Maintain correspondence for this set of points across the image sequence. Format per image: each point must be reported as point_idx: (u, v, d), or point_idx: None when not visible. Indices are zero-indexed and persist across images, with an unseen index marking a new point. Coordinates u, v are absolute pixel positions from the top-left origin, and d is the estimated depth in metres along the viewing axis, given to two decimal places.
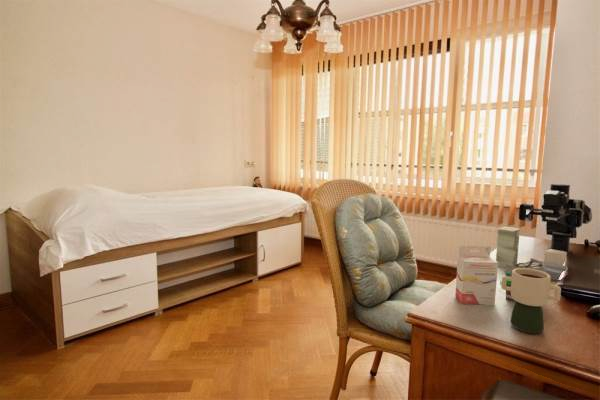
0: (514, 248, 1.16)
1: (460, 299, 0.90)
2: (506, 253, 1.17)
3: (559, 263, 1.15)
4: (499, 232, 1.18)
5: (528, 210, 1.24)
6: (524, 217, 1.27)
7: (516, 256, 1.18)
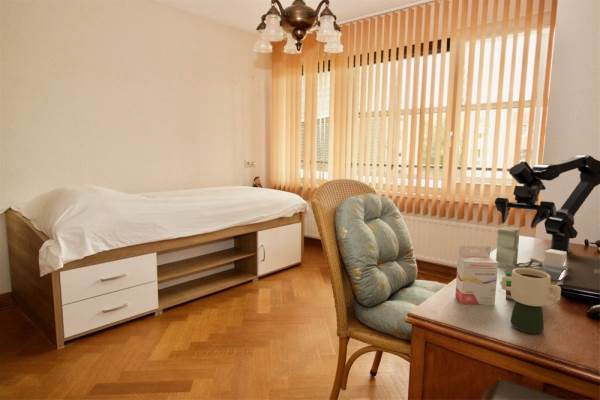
0: (514, 248, 1.16)
1: (460, 299, 0.90)
2: (506, 253, 1.17)
3: (559, 263, 1.15)
4: (499, 232, 1.18)
5: (503, 210, 1.27)
6: (502, 211, 1.31)
7: (516, 256, 1.18)
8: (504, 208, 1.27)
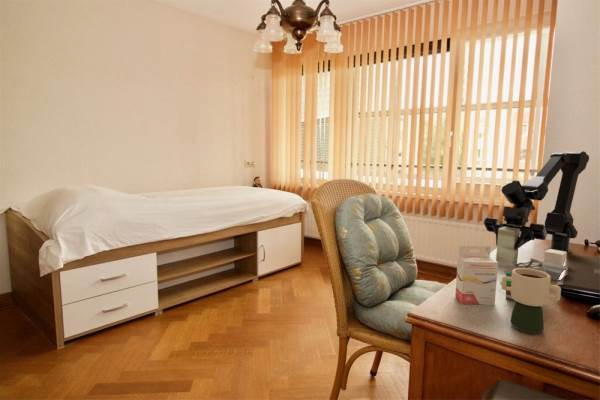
0: (514, 248, 1.16)
1: (460, 299, 0.90)
2: (506, 253, 1.17)
3: (559, 263, 1.15)
4: (499, 232, 1.18)
5: (497, 232, 1.21)
6: None
7: (516, 256, 1.18)
8: None
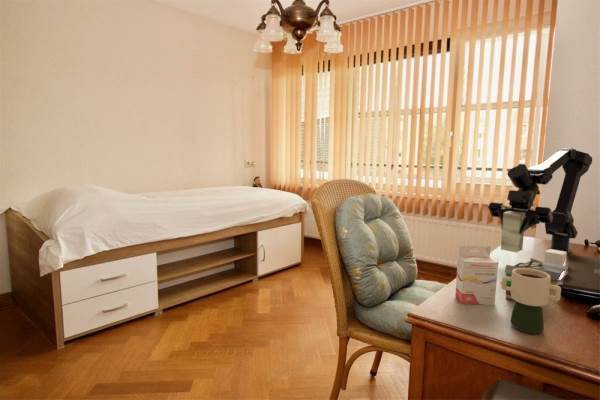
0: (519, 232, 1.14)
1: (460, 299, 0.90)
2: (511, 237, 1.15)
3: (559, 263, 1.15)
4: (504, 216, 1.16)
5: None
6: None
7: (521, 240, 1.16)
8: None
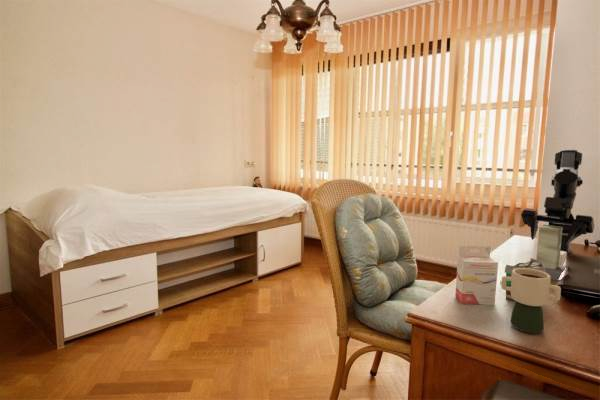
0: (557, 248, 1.07)
1: (460, 299, 0.90)
2: (548, 253, 1.08)
3: (559, 263, 1.15)
4: (540, 230, 1.09)
5: (532, 225, 1.13)
6: (530, 225, 1.16)
7: (558, 256, 1.09)
8: (533, 222, 1.13)
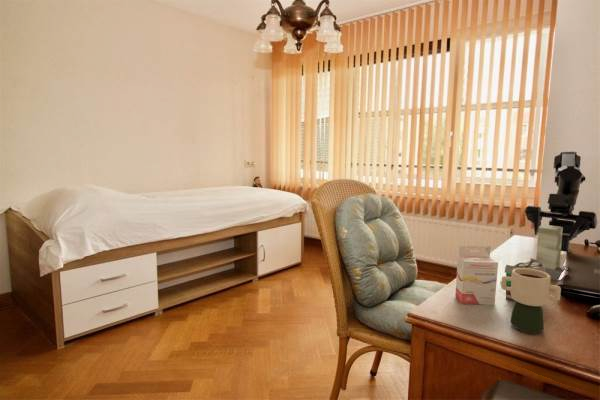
0: (557, 248, 1.07)
1: (460, 299, 0.90)
2: (547, 253, 1.08)
3: None
4: (540, 230, 1.09)
5: (535, 221, 1.15)
6: (533, 221, 1.19)
7: (559, 257, 1.09)
8: (536, 218, 1.15)
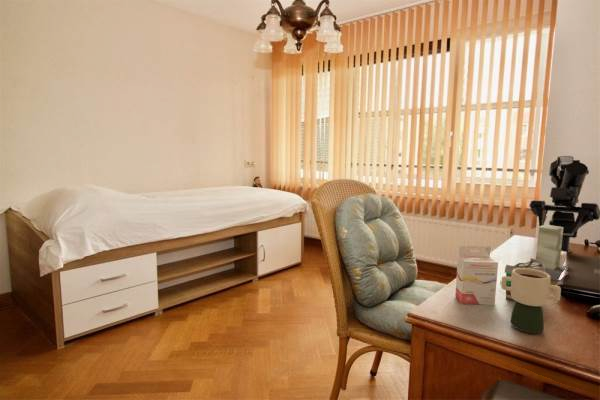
0: (557, 248, 1.07)
1: (460, 299, 0.90)
2: (547, 253, 1.08)
3: (559, 263, 1.15)
4: (540, 230, 1.09)
5: (540, 214, 1.19)
6: None
7: (558, 257, 1.08)
8: (541, 212, 1.19)
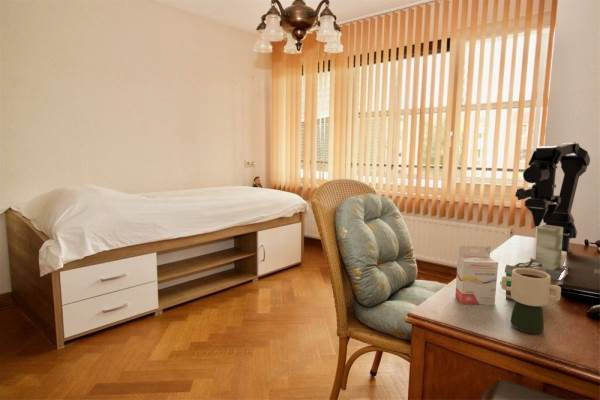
0: (556, 248, 1.06)
1: (460, 299, 0.90)
2: (546, 254, 1.07)
3: None
4: (538, 231, 1.08)
5: None
6: None
7: (559, 257, 1.08)
8: None
